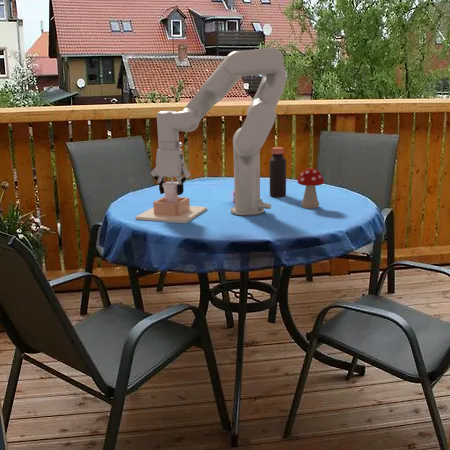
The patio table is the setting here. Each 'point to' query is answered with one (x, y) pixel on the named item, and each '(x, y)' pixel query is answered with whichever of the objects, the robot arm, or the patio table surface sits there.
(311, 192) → the decorative mushroom
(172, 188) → the smoothie
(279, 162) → the vinegar
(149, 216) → the open brown bin
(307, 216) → the patio table surface
